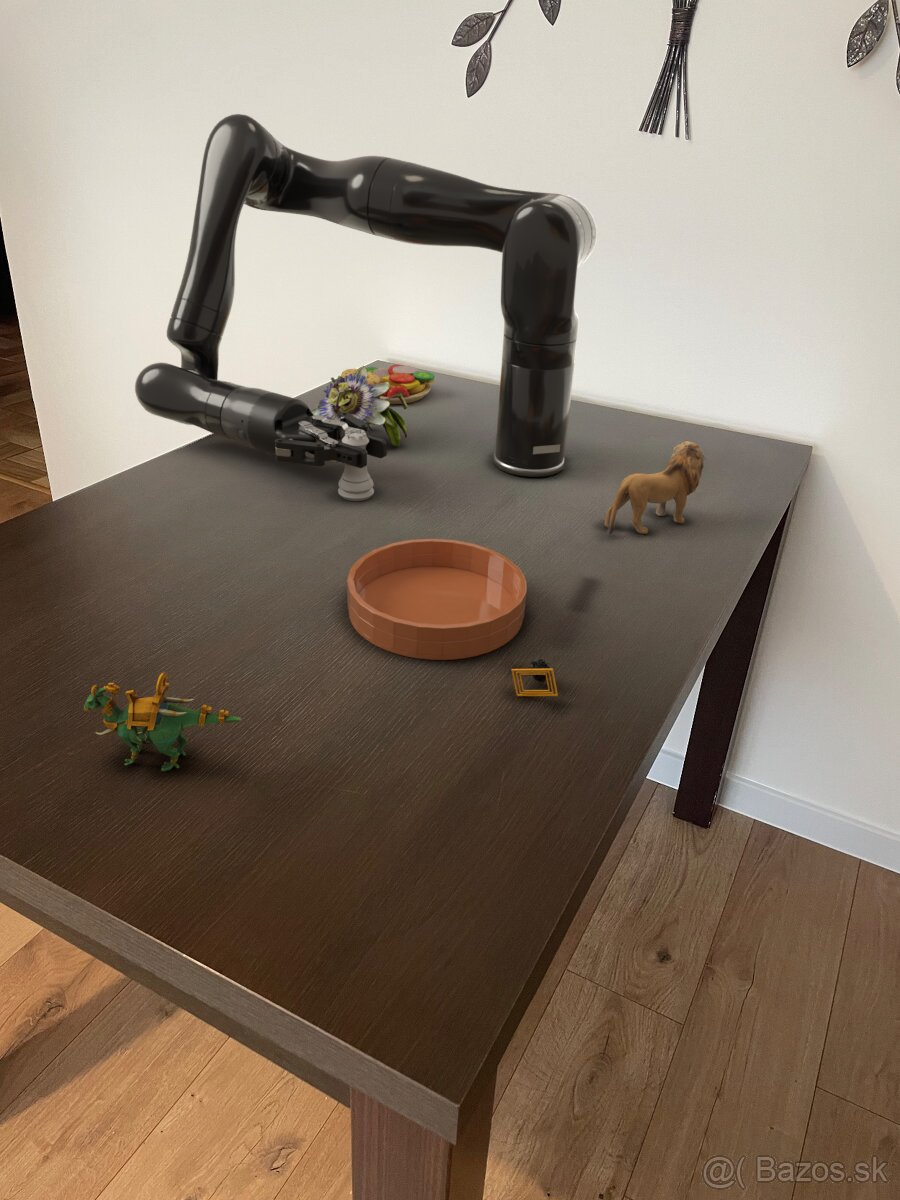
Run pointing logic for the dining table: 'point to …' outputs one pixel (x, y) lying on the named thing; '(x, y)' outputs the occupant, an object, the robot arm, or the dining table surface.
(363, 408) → the passion flower
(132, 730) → the figurine
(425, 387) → the toy food set
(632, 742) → the dining table surface
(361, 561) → the pan
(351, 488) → the rook chess piece
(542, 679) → the golden picture frame
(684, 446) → the lion figurine
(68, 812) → the dining table surface
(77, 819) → the dining table surface
